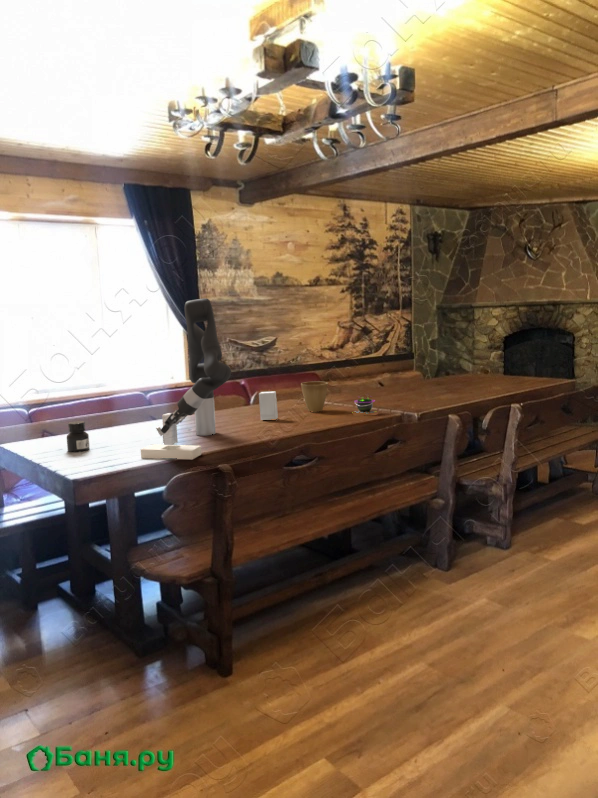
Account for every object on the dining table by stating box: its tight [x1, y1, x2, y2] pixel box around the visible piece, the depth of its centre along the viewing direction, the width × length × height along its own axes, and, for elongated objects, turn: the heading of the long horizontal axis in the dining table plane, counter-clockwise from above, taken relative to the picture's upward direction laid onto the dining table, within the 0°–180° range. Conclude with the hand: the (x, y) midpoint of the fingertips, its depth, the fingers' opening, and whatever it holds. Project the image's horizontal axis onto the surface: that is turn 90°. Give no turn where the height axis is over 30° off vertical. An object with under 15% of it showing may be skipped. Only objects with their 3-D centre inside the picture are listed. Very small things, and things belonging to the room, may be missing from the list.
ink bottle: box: [66, 420, 90, 453], centre depth 269 cm, size 10×9×12 cm
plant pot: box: [300, 380, 329, 413], centre depth 351 cm, size 15×15×16 cm
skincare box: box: [258, 390, 279, 421], centre depth 328 cm, size 8×6×15 cm
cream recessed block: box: [140, 444, 202, 461], centre depth 253 cm, size 9×22×4 cm, turn 75°
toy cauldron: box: [353, 392, 376, 414], centre depth 339 cm, size 15×15×11 cm
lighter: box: [155, 425, 164, 444], centre depth 277 cm, size 7×2×8 cm, turn 123°
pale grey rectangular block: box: [161, 412, 179, 445], centre depth 251 cm, size 5×4×12 cm
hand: (165, 430), depth 252 cm, fingers closed on pale grey rectangular block, 5 cm apart
